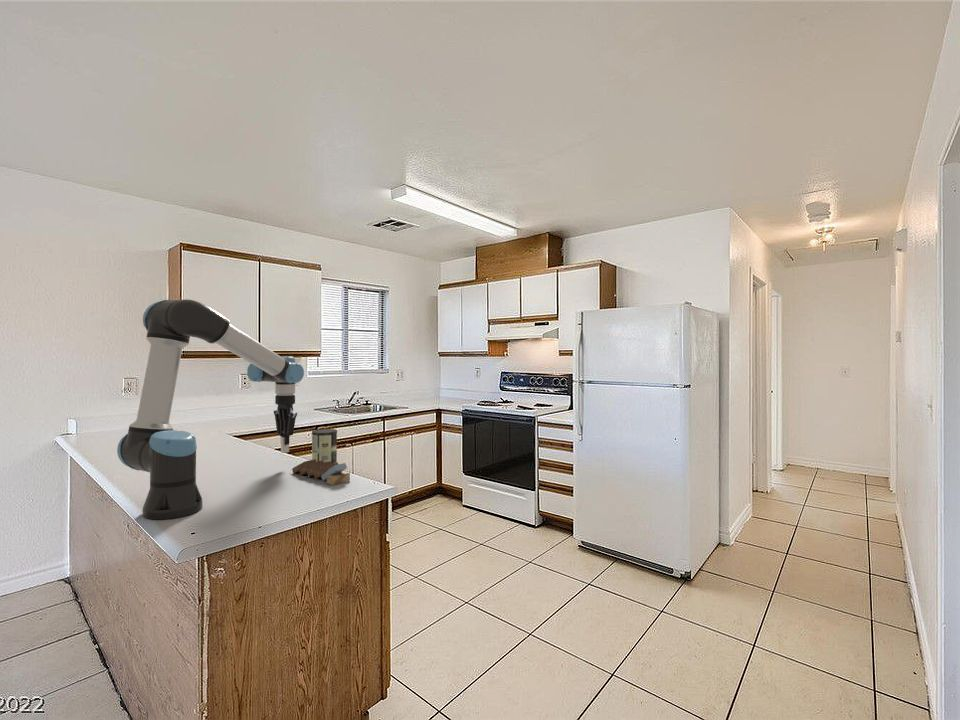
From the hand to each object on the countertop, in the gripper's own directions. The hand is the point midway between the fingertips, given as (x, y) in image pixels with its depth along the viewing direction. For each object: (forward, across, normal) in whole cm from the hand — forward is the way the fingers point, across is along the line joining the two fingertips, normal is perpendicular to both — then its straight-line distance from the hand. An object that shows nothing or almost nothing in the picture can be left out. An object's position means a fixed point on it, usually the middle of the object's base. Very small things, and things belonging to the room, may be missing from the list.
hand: (284, 452), depth 198 cm
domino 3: (+6, -18, 0) cm, 19 cm away
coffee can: (+7, -6, -15) cm, 17 cm away
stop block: (+7, -33, 0) cm, 34 cm away
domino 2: (+6, -14, 0) cm, 15 cm away
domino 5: (+6, -27, 0) cm, 28 cm away
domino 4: (+6, -23, 0) cm, 23 cm away
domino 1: (+6, -9, 0) cm, 11 cm away
